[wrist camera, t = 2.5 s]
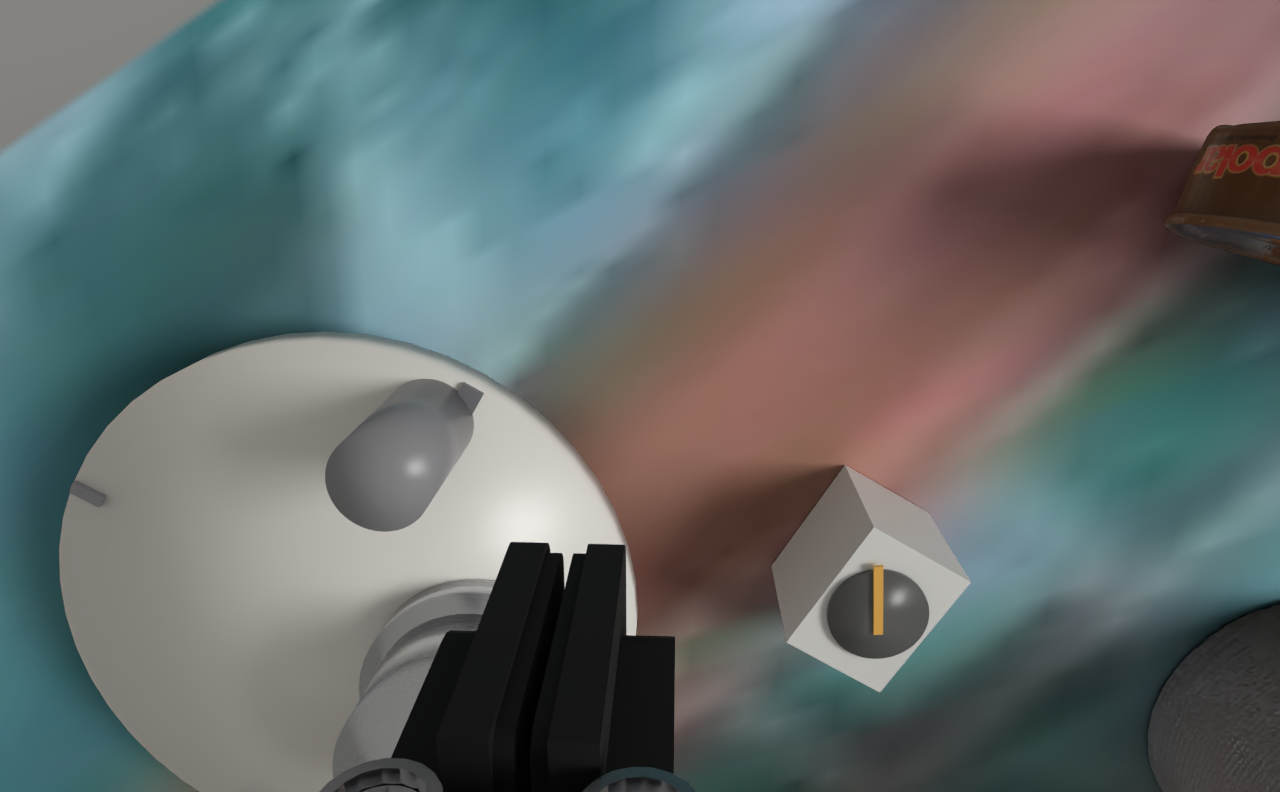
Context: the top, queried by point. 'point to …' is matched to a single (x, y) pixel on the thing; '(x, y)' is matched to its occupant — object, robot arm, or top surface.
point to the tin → (1234, 192)
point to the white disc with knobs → (297, 539)
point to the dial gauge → (865, 580)
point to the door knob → (404, 667)
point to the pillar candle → (1222, 712)
